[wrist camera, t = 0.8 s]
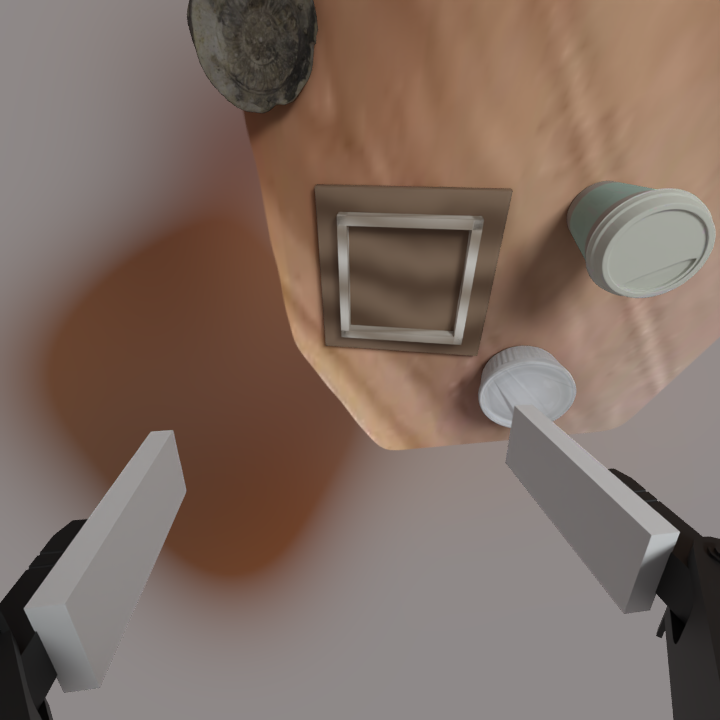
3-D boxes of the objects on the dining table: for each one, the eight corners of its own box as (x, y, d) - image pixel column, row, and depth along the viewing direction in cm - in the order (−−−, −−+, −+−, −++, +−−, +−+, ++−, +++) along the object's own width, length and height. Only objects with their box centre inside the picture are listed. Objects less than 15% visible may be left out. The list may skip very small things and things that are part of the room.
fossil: (328, 109, 36) (247, 120, 30) (261, 106, 40) (177, 116, 34) (318, -60, 29) (210, -92, 23) (239, -41, 34) (130, -64, 27)
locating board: (316, 184, 41) (311, 189, 39) (510, 188, 38) (515, 194, 36) (327, 341, 52) (323, 351, 50) (476, 351, 50) (478, 362, 48)
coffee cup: (541, 249, 41) (577, 299, 32) (569, 162, 36) (622, 190, 27) (623, 255, 41) (686, 308, 31) (663, 167, 36) (753, 198, 26)
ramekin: (459, 385, 54) (462, 411, 50) (505, 324, 47) (514, 347, 43) (527, 413, 55) (536, 440, 51) (582, 357, 49) (597, 383, 45)
